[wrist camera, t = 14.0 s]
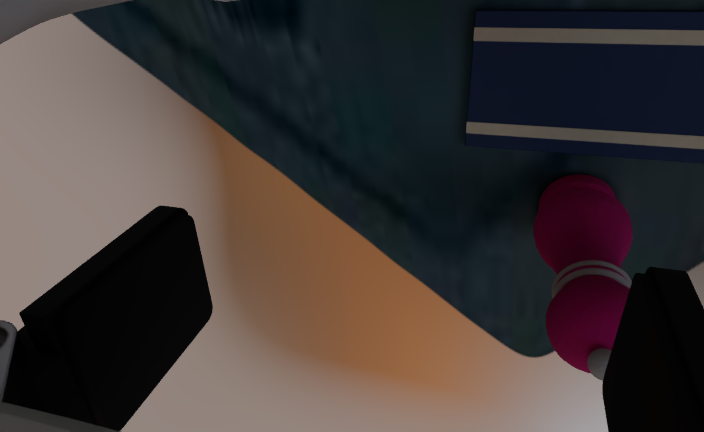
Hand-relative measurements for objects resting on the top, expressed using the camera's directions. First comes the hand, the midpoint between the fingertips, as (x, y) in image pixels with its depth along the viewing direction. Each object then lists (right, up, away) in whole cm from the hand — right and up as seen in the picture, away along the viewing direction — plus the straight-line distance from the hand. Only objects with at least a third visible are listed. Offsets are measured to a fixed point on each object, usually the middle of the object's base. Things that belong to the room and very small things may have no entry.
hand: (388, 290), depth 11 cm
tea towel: (+19, +12, +28) cm, 36 cm away
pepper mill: (+19, +3, +34) cm, 39 cm away
